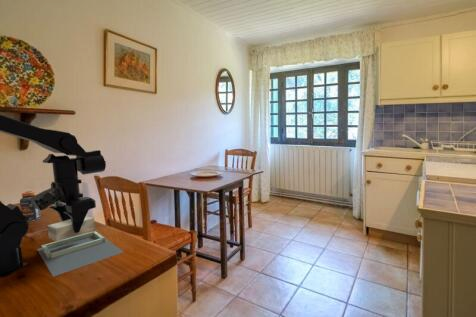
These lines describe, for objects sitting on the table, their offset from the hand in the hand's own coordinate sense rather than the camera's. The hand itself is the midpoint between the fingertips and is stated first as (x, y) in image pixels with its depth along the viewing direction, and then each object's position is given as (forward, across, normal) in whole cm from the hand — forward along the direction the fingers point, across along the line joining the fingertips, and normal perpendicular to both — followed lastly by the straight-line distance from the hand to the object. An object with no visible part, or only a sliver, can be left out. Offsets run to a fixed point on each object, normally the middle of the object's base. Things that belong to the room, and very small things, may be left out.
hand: (72, 230), depth 77 cm
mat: (+5, +5, -1) cm, 7 cm away
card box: (+1, 0, 0) cm, 1 cm away
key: (+6, -23, +3) cm, 24 cm away
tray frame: (+4, 0, 0) cm, 5 cm away
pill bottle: (+5, -45, +4) cm, 45 cm away
